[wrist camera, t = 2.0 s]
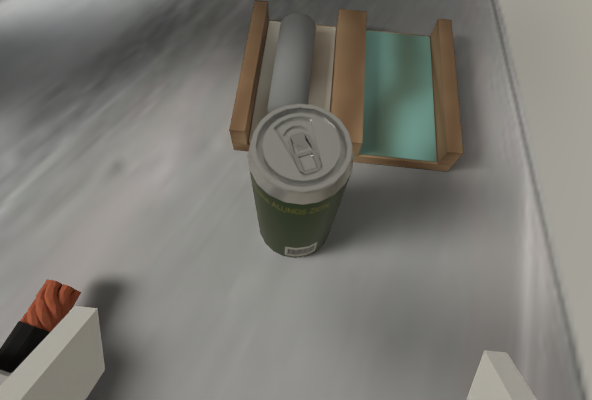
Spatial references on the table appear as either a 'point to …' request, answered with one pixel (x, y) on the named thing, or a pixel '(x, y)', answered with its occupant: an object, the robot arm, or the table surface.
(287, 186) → the beer can
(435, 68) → the caddy
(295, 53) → the smooth gray cylinder
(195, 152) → the table surface
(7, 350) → the cable
